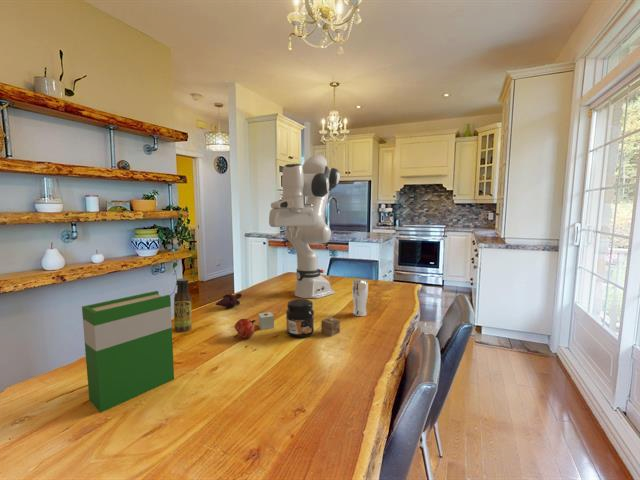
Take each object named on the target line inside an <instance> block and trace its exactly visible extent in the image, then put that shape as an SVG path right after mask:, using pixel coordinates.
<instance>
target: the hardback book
mask: <svg viewBox="0 0 640 480" xmlns="http://www.w3.org/2000/svg"><path fill="white" fill-rule="evenodd" d="M81 313H82V324H83V325H82V327H83V338H84V339H83V340H84V350H85V363H86V375H87V389H88V390H87V391H88V399H89V402H90V403H91V404H92V405H93V406H94V407H95V409H97V410H98V411H99V412H100V413H104V412H105V411H108V410H111V409H112V408H114V407H116V406H118V405H121V404H123V403H125V402H128V401H130V400H131V399H134V398H137V397H138V396H141V395H143V394H145V393H147V392H150V391H151V390H153V389H154V390H155V389H156V388H159V387H161V386H163V385H166V384H168V383H169V382H172V381H174V380H175V369H174V368H175V366H174V346H173V343H174V342H173V325H172V324H173V323H172V302H171V295H170V294H166V295H163V296H162V295H160V294H159V290H155V291H149V292H145V293H144V292H143V293H140V294H136V295H130V296H126V297H122V298H116V299H112V300H107V301H102V302H97V303H92V304H88V305H83V306H81Z"/></svg>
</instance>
